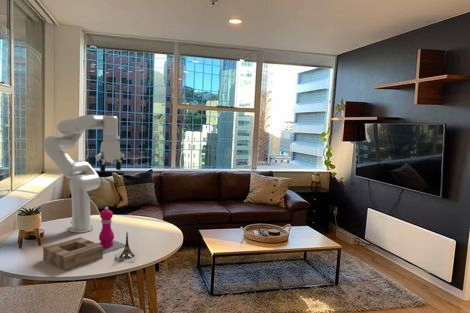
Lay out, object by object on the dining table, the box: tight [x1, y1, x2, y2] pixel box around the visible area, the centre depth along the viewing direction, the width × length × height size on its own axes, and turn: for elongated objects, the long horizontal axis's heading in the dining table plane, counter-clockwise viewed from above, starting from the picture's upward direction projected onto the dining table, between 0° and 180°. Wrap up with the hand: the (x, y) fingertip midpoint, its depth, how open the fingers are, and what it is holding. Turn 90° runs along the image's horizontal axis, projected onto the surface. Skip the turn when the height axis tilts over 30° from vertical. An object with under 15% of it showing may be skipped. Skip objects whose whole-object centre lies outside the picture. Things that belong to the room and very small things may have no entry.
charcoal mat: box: [96, 239, 126, 255], centre depth 177 cm, size 14×14×1 cm
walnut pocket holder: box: [42, 236, 104, 272], centre depth 160 cm, size 18×18×6 cm
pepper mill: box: [98, 206, 115, 248], centre depth 176 cm, size 7×7×20 cm
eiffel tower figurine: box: [113, 232, 135, 264], centre depth 165 cm, size 15×10×13 cm
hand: (110, 170), depth 189 cm, fingers open, 9 cm apart
